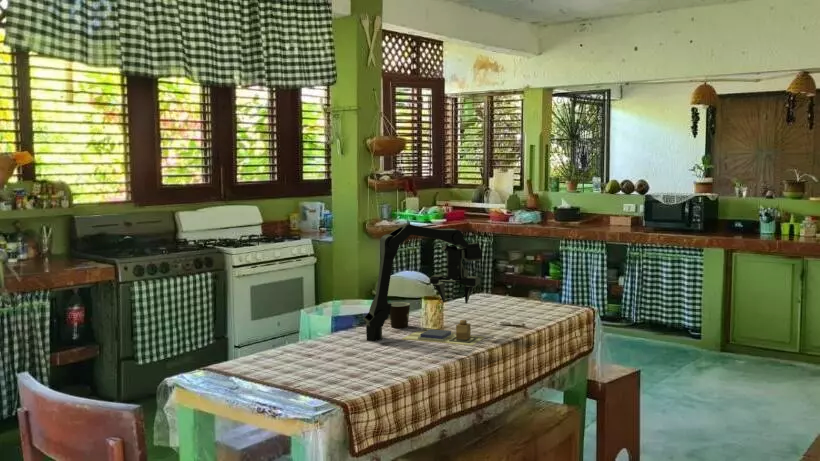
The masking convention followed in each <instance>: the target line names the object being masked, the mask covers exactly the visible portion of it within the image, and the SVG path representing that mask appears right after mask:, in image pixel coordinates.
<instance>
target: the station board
mask: <svg viewBox="0 0 820 461" xmlns="http://www.w3.org/2000/svg"><path fill="white" fill-rule="evenodd" d="M424 332H425V331H423V330H422V331H421V330H420V331H419V330H417V331H414V332H412V333H410V334H408V335H406V336H404V337H402V338H401V340H406V341H414V342H417V341H418V342H426V343H427V342H428V343H439V344H450V345H451V344H452V345H462V346H471V347H472V346H474V345H475V344H477V343H479V342H480V341H482V340H483V339H485V338H486V336H483V335H482V336H481V335H471V339H470V340H468V341H457V340H456V333H454V335H453V336H452V337H450V338H448V339H446V340H445V341H432V340H421V339H418V337H419V336H420V334H422V333H424Z"/></svg>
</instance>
